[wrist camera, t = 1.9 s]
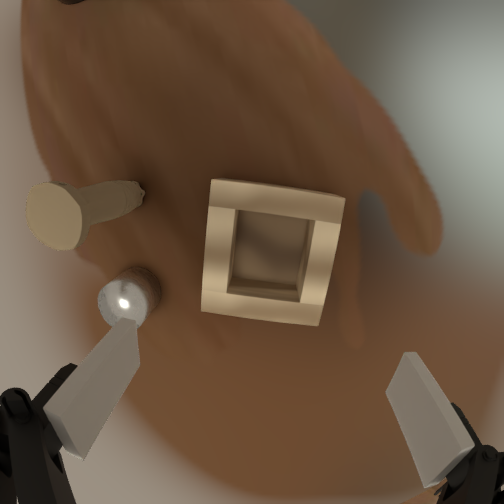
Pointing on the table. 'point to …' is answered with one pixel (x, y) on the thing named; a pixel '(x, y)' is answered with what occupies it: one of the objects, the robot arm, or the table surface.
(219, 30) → the table surface
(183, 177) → the table surface
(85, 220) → the handle
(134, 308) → the round plug
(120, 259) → the table surface
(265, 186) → the socket block
